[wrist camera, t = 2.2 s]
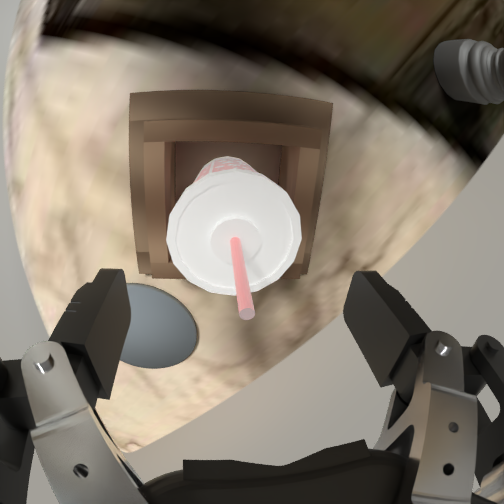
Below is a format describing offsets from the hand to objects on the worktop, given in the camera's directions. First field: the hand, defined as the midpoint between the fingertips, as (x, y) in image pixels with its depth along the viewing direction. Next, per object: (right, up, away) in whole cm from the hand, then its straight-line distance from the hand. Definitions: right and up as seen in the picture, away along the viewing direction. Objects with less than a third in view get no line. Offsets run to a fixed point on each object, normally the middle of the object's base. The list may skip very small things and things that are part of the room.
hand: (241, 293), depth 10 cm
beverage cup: (-1, +6, +11) cm, 13 cm away
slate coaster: (-10, -6, +16) cm, 20 cm away
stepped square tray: (-1, +6, +11) cm, 13 cm away
